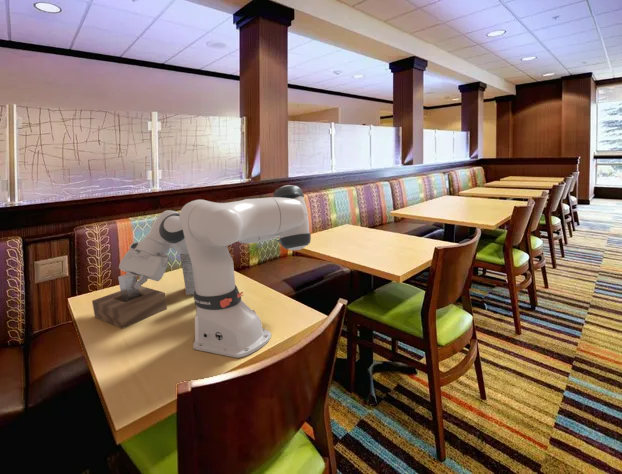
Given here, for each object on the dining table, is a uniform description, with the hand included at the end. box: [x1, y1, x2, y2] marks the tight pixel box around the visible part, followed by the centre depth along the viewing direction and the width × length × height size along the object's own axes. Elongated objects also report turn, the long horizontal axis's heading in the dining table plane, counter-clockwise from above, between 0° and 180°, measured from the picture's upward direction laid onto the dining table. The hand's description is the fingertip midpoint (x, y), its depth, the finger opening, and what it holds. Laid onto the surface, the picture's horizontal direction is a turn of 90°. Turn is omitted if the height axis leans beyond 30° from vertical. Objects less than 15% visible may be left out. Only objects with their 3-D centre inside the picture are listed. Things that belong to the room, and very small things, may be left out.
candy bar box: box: [179, 253, 195, 296], centre depth 140 cm, size 11×5×16 cm, turn 179°
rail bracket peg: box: [117, 273, 140, 302], centre depth 122 cm, size 4×4×10 cm
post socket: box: [91, 285, 168, 329], centre depth 123 cm, size 16×16×6 cm
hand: (130, 287), depth 122 cm, fingers closed on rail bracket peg, 4 cm apart
